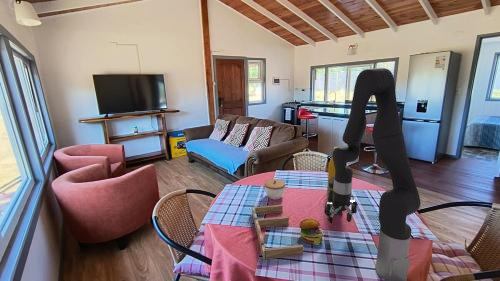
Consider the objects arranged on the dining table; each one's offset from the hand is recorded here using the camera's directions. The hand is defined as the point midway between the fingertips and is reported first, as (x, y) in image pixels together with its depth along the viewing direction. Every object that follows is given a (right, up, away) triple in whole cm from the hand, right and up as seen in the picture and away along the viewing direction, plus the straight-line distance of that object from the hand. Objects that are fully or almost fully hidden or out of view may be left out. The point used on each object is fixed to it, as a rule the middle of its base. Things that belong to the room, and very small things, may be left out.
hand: (339, 222), depth 108 cm
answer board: (-29, -6, +4) cm, 30 cm away
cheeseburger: (-13, -7, 0) cm, 15 cm away
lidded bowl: (-25, +2, +38) cm, 46 cm away
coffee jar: (+5, -1, +20) cm, 21 cm away
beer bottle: (+13, +5, +43) cm, 45 cm away
